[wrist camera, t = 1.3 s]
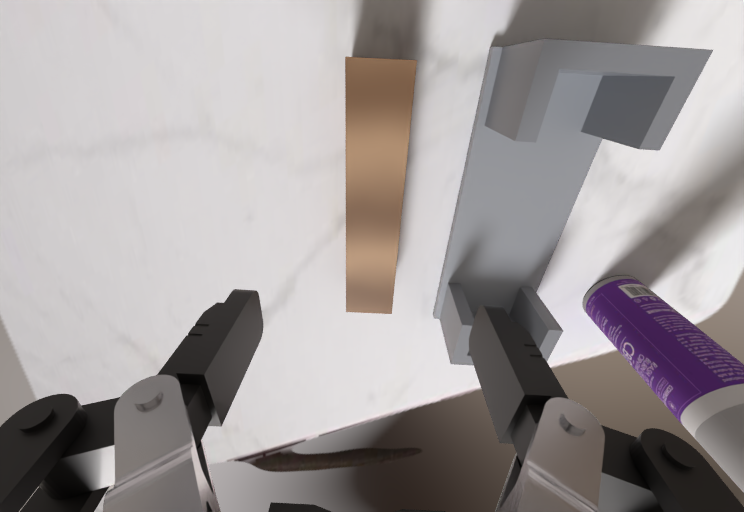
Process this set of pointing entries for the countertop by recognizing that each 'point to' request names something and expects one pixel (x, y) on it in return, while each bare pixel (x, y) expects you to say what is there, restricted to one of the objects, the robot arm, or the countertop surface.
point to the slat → (375, 176)
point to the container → (676, 365)
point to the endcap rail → (545, 166)
